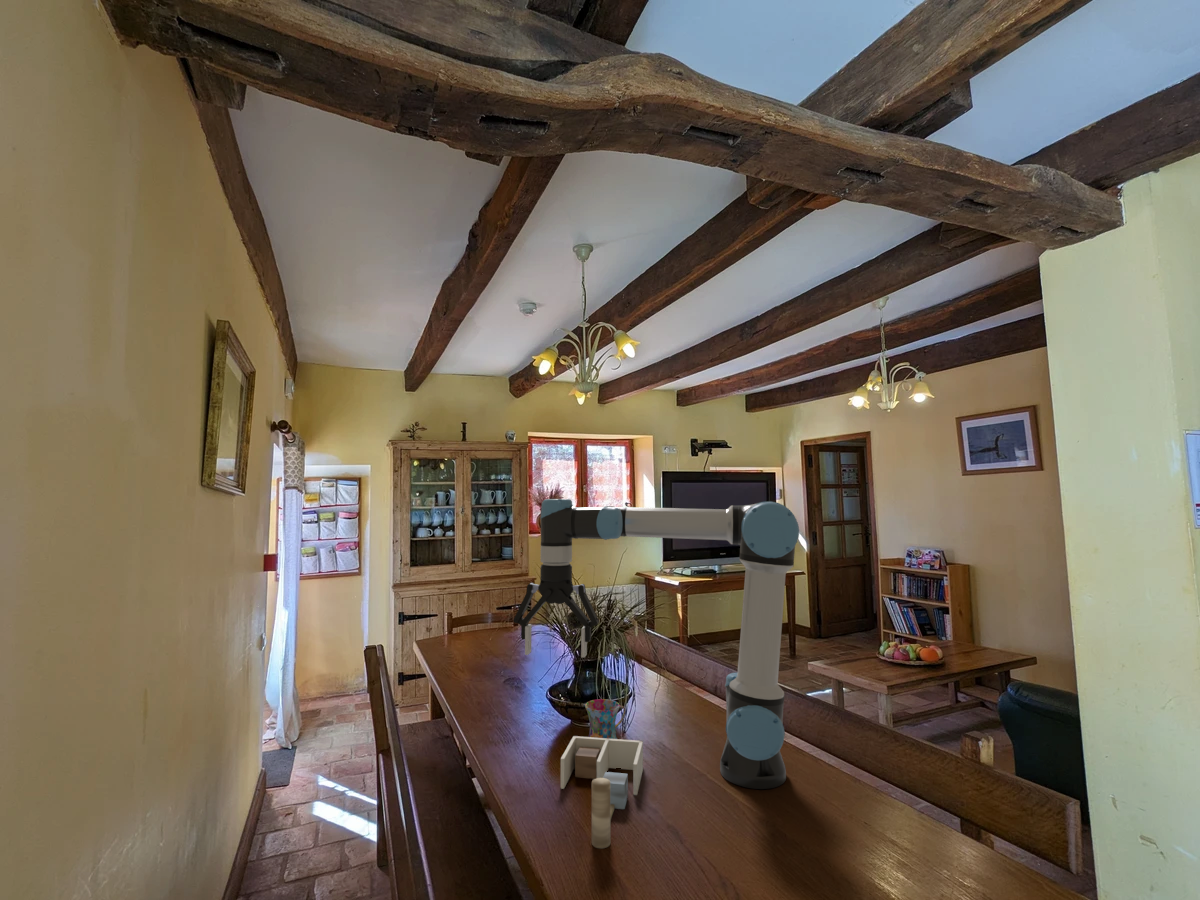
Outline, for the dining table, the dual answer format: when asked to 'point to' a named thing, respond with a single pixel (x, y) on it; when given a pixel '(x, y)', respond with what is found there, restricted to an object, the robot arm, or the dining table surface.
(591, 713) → the mug
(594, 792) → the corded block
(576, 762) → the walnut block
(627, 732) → the dining table surface
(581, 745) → the lane rack
